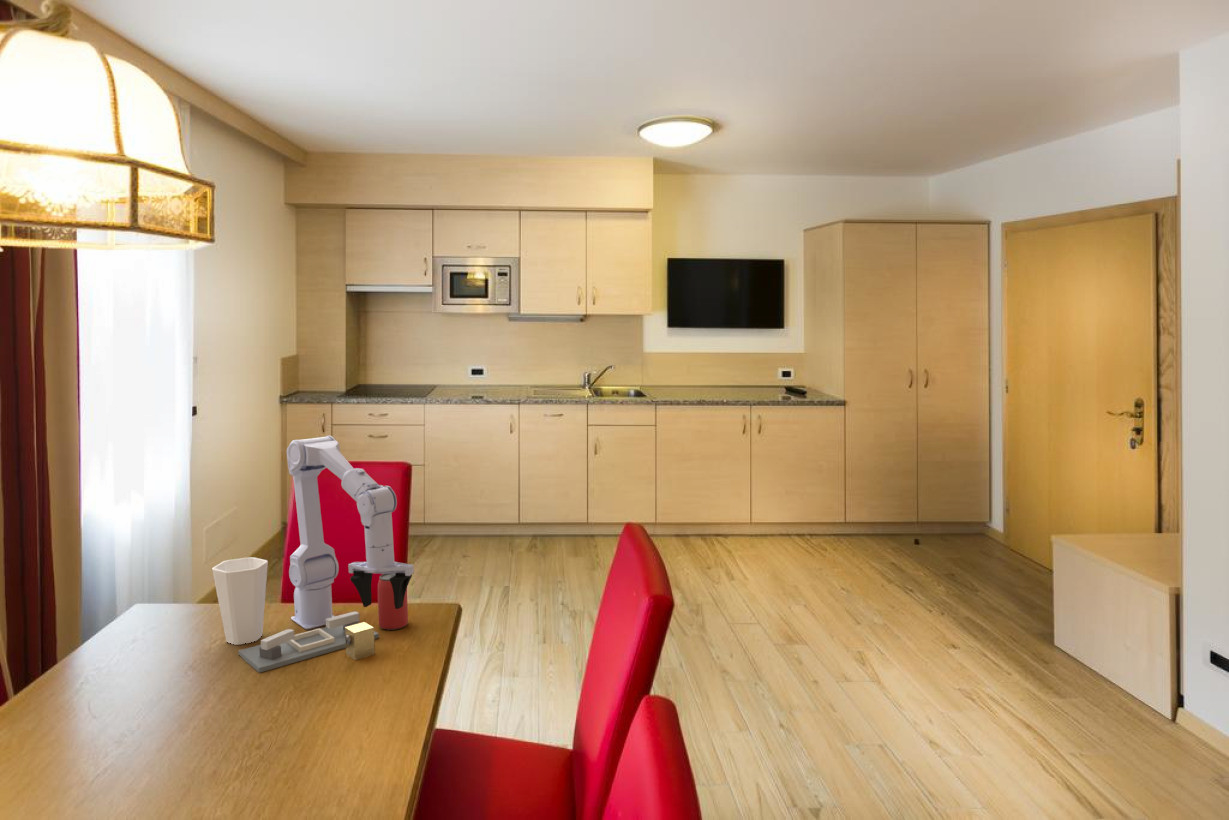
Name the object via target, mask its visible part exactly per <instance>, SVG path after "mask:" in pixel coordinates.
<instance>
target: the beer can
mask: <svg viewBox="0 0 1229 820" xmlns="http://www.w3.org/2000/svg"><path fill="white" fill-rule="evenodd" d="M394 576H395V574H381V575H380V576H379V579H378V583H377V608H378V609H377V612H378V626H379V627H380V628H381V629H383V630H385V629H386V631H394V630H399V629H403V628H404V627H406V626H407V625H408V624H409V615H408V614H409V611H408V609H409V607H408V588H407V589H406V592H405V596H404V602H403V606H402V607H401V608H399V609H395V605H394V593H393V588H392V585H391V582H390V578H392V577H394Z"/></svg>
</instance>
